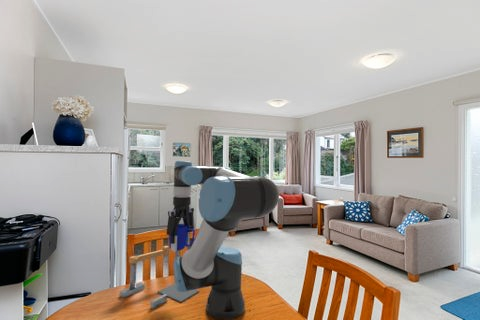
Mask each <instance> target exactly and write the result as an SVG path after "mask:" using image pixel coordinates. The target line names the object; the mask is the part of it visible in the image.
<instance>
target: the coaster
mask: <svg viewBox="0 0 480 320" xmlns="http://www.w3.org/2000/svg"><path fill="white" fill-rule="evenodd" d="M199 292H200V290H199V289H194V290H189V291H188V292H186V291H185V292H179V291H178V290H177V288H176V284H175V282H174V283H172V284H170V285H168V286H166V287H164V288H161V289H160V290H158V291H157V294H160V295H161V296H162V295H164V294H166V295H167V298H169V299H171V300H173V301H175V302H179V303H181V304H182V303H183V302H185V301H186V300H188V299H190V298H191V297H193V296H195V295H197V294H199Z"/></svg>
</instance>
